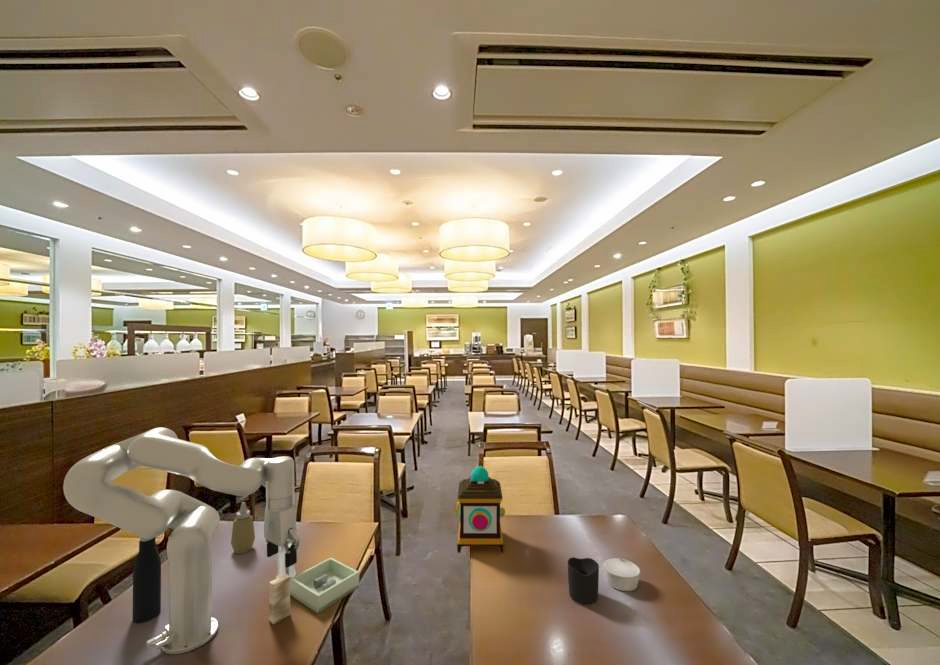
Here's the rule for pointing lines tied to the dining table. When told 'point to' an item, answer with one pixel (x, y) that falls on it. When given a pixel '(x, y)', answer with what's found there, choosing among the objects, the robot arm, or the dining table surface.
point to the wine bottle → (146, 582)
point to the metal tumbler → (281, 563)
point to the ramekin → (621, 574)
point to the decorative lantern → (479, 511)
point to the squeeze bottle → (243, 531)
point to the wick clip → (323, 582)
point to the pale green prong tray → (317, 597)
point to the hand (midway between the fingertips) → (281, 559)
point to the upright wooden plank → (279, 598)
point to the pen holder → (583, 580)
